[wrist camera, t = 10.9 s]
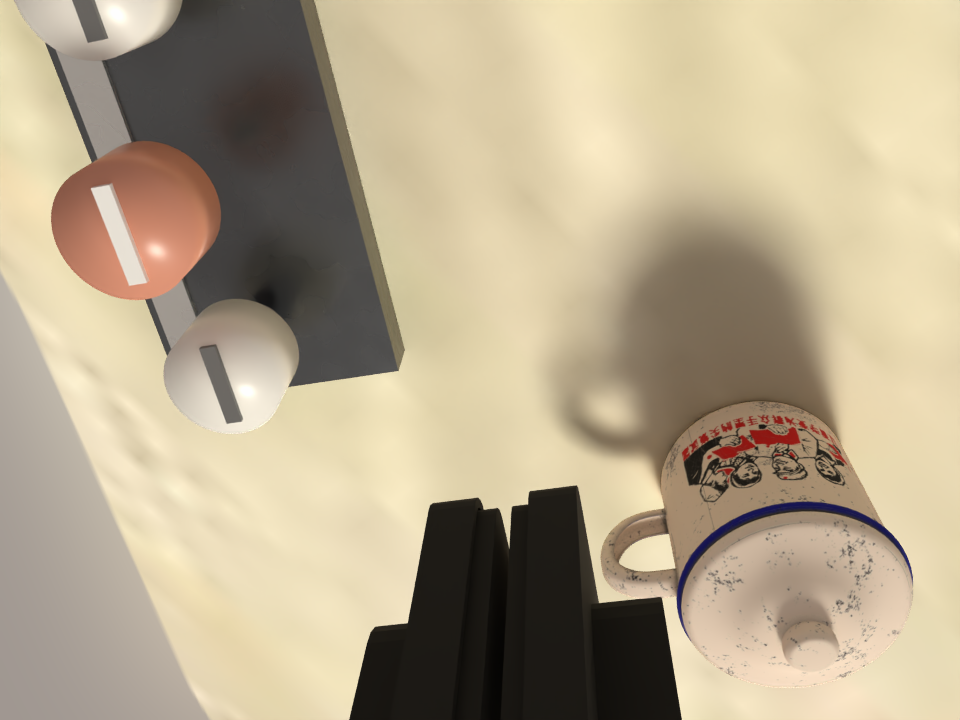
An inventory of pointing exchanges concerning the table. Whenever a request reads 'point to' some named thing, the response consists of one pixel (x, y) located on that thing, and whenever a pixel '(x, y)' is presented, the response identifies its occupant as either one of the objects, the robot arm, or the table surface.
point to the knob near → (98, 24)
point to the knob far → (232, 366)
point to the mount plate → (255, 174)
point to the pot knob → (136, 219)
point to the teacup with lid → (770, 549)
